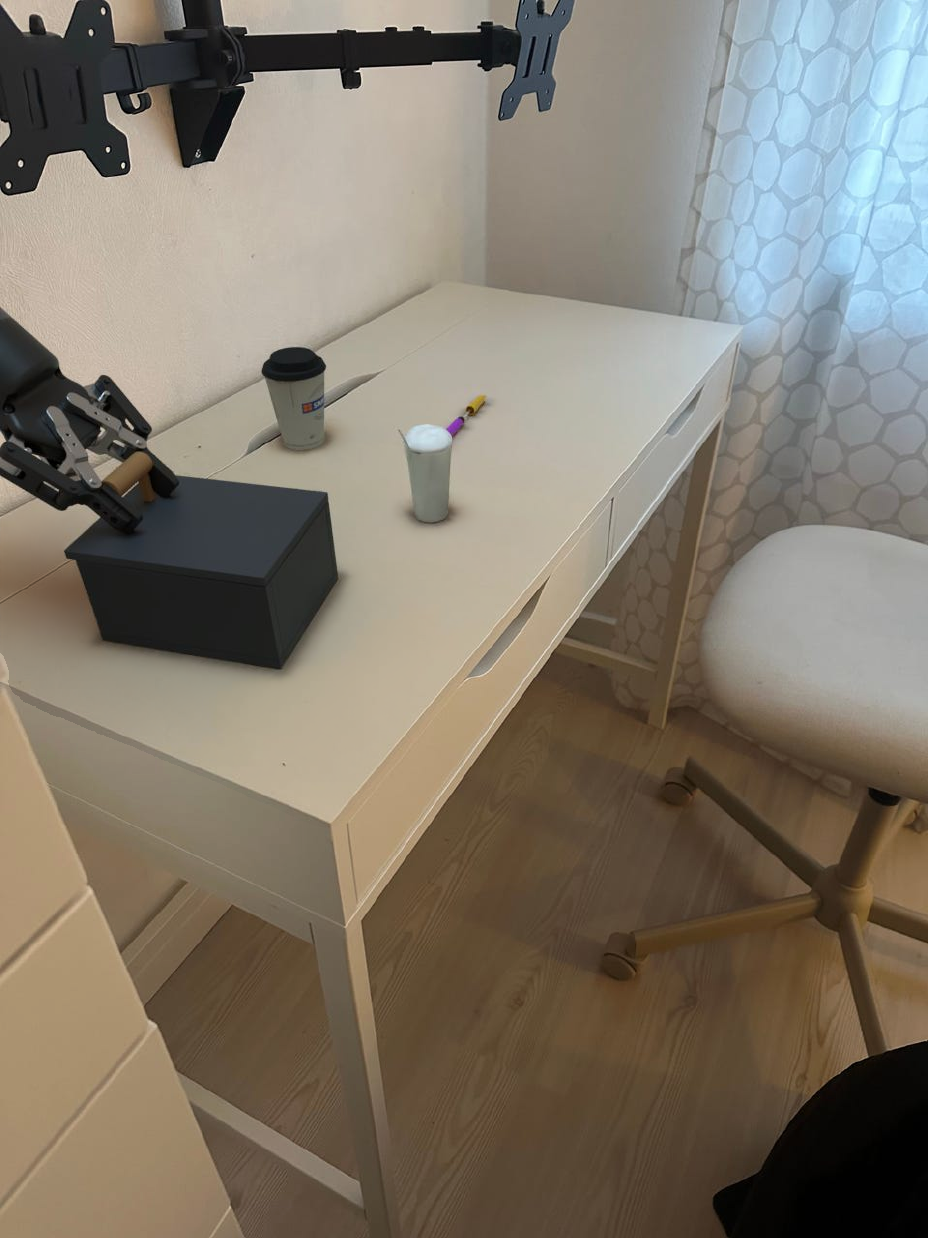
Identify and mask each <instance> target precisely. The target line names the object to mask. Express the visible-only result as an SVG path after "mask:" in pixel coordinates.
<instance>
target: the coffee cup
mask: <svg viewBox="0 0 928 1238" xmlns="http://www.w3.org/2000/svg"><path fill="white" fill-rule="evenodd" d="M326 370H327V364H326V363H325V361H324V360H323V358H322V357H321V356H319V355H318V354H317V353H316V352H314V351H313V350H312V349H310V348H307V347H302V346H291V347H284V348H280V349H277V350H275V351H273V352H272V353H270V355H269V358H268V359H267V360H266V361H264V362H263V365H262V367H261V371H260V373H261V375H262V376H263V377H264V379H265V383H266V388H267V390H268V394H269V398H270V400H271V404H272V407H273V411H274V415H275V418H276V421H277V426H278V429H279V433H280V435H281V439H282V442H283V445H284V447H286V448H287V449H291V450H296V451H306V450H311V449H315V448H317V447H319V446H321V445H322V444H323V443H324V441H325V371H326Z"/></svg>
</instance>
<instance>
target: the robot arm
mask: <svg viewBox="0 0 928 1238" xmlns="http://www.w3.org/2000/svg"><path fill="white" fill-rule="evenodd" d="M126 420H127V421H128V423H129V424H130V425H131V426H132V428H133V429H132V428H131V426H129V425H128V424H127V421H126ZM101 428H102V429H103V430H104V431H102V430H101ZM152 431H153V428H152V426H151V425H150V423H149V422H148V420H146V418H145V417H144V416H143V415H142V414H141V412H140V411H139V410H138V409H137V408H136V406H135V405H134V404H133V403H132V401H131V400H130V399H129V398H128V397H127V395H126V394H125V393H124V392H123V390H122V389H120V387H119V386H118V385H117V384H116V382H115V381H114V380H113V379H112V377H110V376H108V375H106V374H100V375H99V376H98V378H97V379H96V381H95V382H94V383H90V384H87V385H82V384H80V383H79V382H77V381H74V380H72V379H71V378H69V377H67V376H65V375H64V374H63V372H62V370H61V367H60V361H59V359H58V357H57V356H56V355H55V354H54V353H52V351H51V350H49V349H48V348H47V347H46V346H45V345H43V343H41V342H40V341H39V340H38V339H37V338H36V337H35V336H33V334H31V333H30V332H29V331H28V330H27V329H26V328H24V326H23V325H21V324H20V323H19V322H18V321H17V320H15V318H13V317H12V316H11V315H10V314H9V313H8V312H7V311H6V310H4V308H2V307H1V306H0V434H2V436H3V438H4V440H5V441H4V442H2V444H1V445H0V477H2V478H3V479H5V480H6V481H8V482H10V483H11V484H13V485H15V486H16V487H18V488H20V489H22V490H23V491H25V492H27V493H28V494H30V495H32V496H34V497H35V498H37V499H38V500H40V501H42V502H43V503H45V504H47V505H49V506H50V507H52V508H54V509H55V510H57V511H60V512H64V511H66V510H67V509H68V508H69V507H72V506H76V505H80V506H85V507H87V508H89V509H90V510H91V511H92V512H94V513H95V514H96V515H97V516H98V517H99V518H100V517H101V518H102V519H104V521H106V522H107V523H108V524H109V525H110V526H111V527H113V528H114V529H116V530H118V531H122V532H124V533H126V534H130V533H131V532H132V531H133V530H134V529H135V528H136V527H137V526H138V525H139V523H140V522H141V521H142V520H143V515H142V514H141V513H140V512H139V511H138V510H137V509H136V508H134V507H133V506H132V505H131V504H130V503H129V502H127V501H126V500H125V499H124V498H123V496H121V495H119V494H118V493H117V492H116V491H115V490H114V489H112V488H111V487H110V486H109V485H108V484H107V483H106V484H105V485H104V486H103V487H102V486H101V485H102V482H101V481H102V479H101V478H100V477H99V476H98V474H97V473H96V471H95V470H94V468H93V467H92V465H91V464H90V462H89V454H88V453H89V452H87V450H88V451H90V452H92V453H94V454H96V455H98V456H103V455H107V456H109V457H111V458H113V459H114V460H116V461H118V462H121V464H122V463H123V462H124V461H125V460H127V459H128V458H129V457H130V456H131V455H132V454H134V453H135V452H143V453H145V454H147V455H148V456H149V457H150V459H151V460H152V463H153V466H152V469H151V470H150V471H149V472H148V474H149V478H150V482H151V486H152V489H153V491H154V492H155V493H156V494H158V495H159V496H160V497H161V498H167V497H168V496H169V495H170V494H171V493H172V492H173V491H174V490H175V488H176V487H177V486H178V485H179V480H178V479H177V478H176V476H175V475H176V474H175V473H174V471H173V470H172V469H171V468H170V467H168V466H167V465H166V463H164V462H163V461H162V460H161V459H160V458H158V457H157V456H156V455H155V454H154V453H153V452H151V450H150V449H149V448H148V444H147V442H148V438H149V436H150V434H151V433H152ZM100 434H101V435H100ZM115 441H117V442H119V443H121V444H122V445H124V446H122V445H120V444H119V443H117V442H115Z"/></svg>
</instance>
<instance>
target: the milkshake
mask: <svg viewBox="0 0 928 1238" xmlns="http://www.w3.org/2000/svg"><path fill="white" fill-rule="evenodd" d="M397 431H398V433H399V435H400V436H401V438H402V440H403V446H404V453H405V459H406V464H407V471H408V478H409V485H410V491H411V492H410V493H411V498H412V505H413V512H414V513H413V514H414V516H415V517H416V519H417V520H418V521H420V522H423V523H428V524H429V523H430V524H431V523H438V522H440V521H444V520H445V519H446V518H447V516H448V515H449V505H450V503H449V502H450V484H451V483H450V481H451V462H452V460H451V459H452V451H453V437H452V436H453V435H452V436H451V434H450V433H449V432H448V431H447V430H446V428H445V427H442V426H439V425H435V424H434V425H433V424H431V423H425V424H416V425H414V426H411V428H410V429H409V430H408V432H407V433H406V435H404V434H403V432H402V431H401V430H400V429H399V428H398V429H397Z"/></svg>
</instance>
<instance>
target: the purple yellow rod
mask: <svg viewBox="0 0 928 1238" xmlns="http://www.w3.org/2000/svg"><path fill="white" fill-rule="evenodd" d="M486 398H487V395H486V394H483V395H482V394H481V395H478V396H477V397H475V399H474V400H473V401H472V402H470V403H469V404H468V405H467V406H465V412H466V413H465V414H464V415H463V416H458V417H457V418H455V419H454V420H453V421H452V422H451V424H449V426H447V427H446V428H445V430H447V431H448V432H449V433H450V434H451V436H454V434H455V433H456V432H457V431H458V430H459V429H460V428H461V427H462V426H463V424H464V423H465V421H466V419H465V418H466V417H467V416H468V415H469V416H473V415H474V414H475V413H476V412H478V410H479V408H480V407H481V406H482V405H483V404H484V402H485V400H486Z"/></svg>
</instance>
